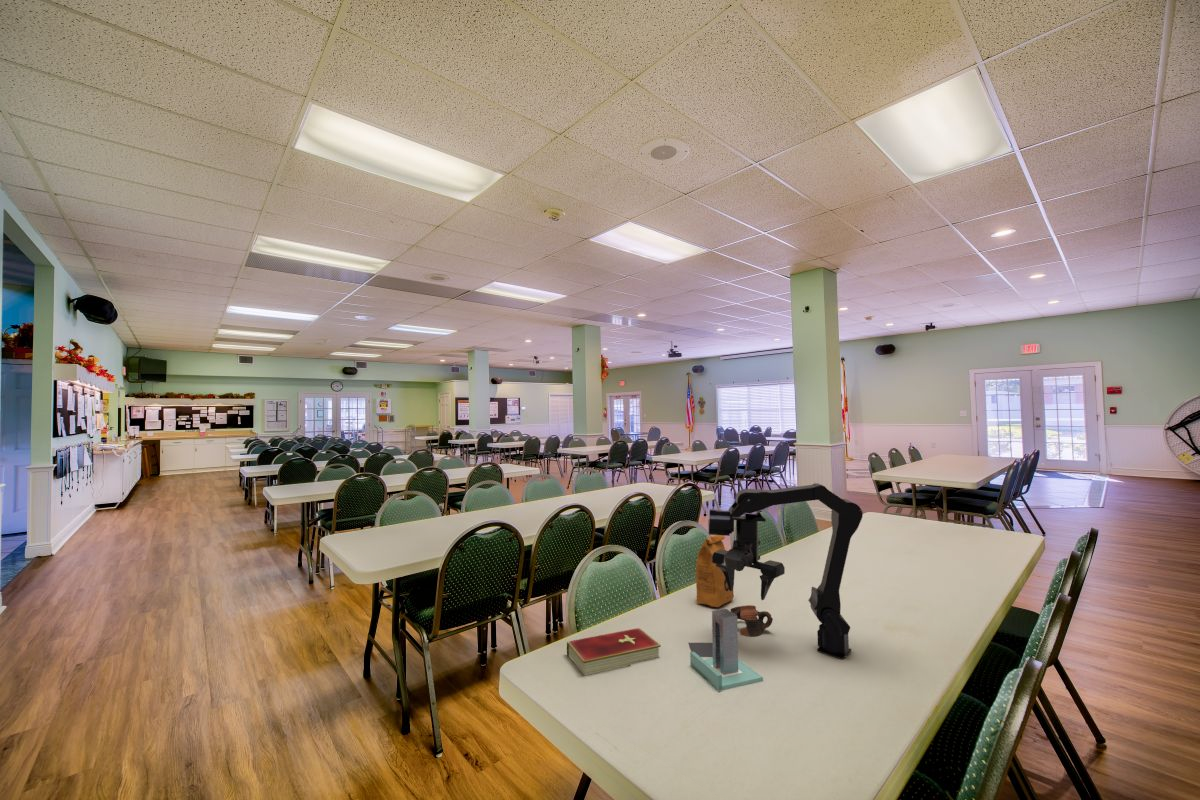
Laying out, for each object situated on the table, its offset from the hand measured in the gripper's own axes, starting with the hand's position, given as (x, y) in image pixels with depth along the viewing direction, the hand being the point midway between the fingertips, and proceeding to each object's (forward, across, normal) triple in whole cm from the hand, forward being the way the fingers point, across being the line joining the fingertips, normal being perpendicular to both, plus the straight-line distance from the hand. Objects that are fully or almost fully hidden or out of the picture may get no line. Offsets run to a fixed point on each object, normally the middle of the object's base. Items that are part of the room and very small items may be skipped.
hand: (746, 595), depth 132 cm
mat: (+14, -6, -10) cm, 18 cm away
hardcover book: (+15, -21, -30) cm, 39 cm away
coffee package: (+14, -23, +22) cm, 34 cm away
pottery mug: (+14, -4, +9) cm, 17 cm away
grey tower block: (+12, +4, -18) cm, 22 cm away
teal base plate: (+13, +4, -18) cm, 22 cm away
